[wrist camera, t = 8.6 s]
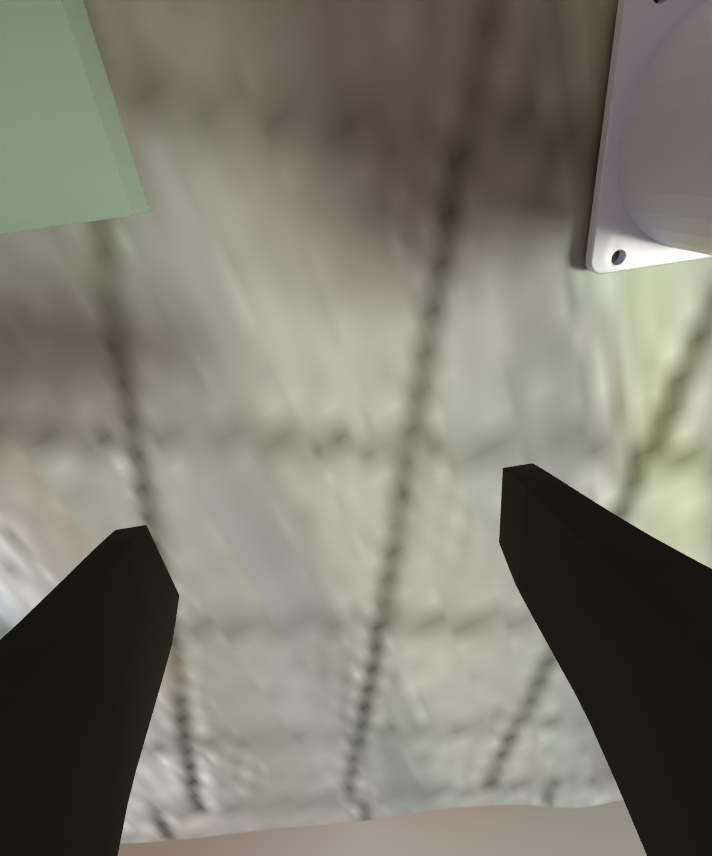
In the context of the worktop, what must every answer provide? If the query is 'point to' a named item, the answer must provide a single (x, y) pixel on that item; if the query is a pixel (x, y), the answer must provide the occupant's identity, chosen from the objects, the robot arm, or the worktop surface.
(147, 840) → the worktop surface
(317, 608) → the worktop surface
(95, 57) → the stand
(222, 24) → the worktop surface
